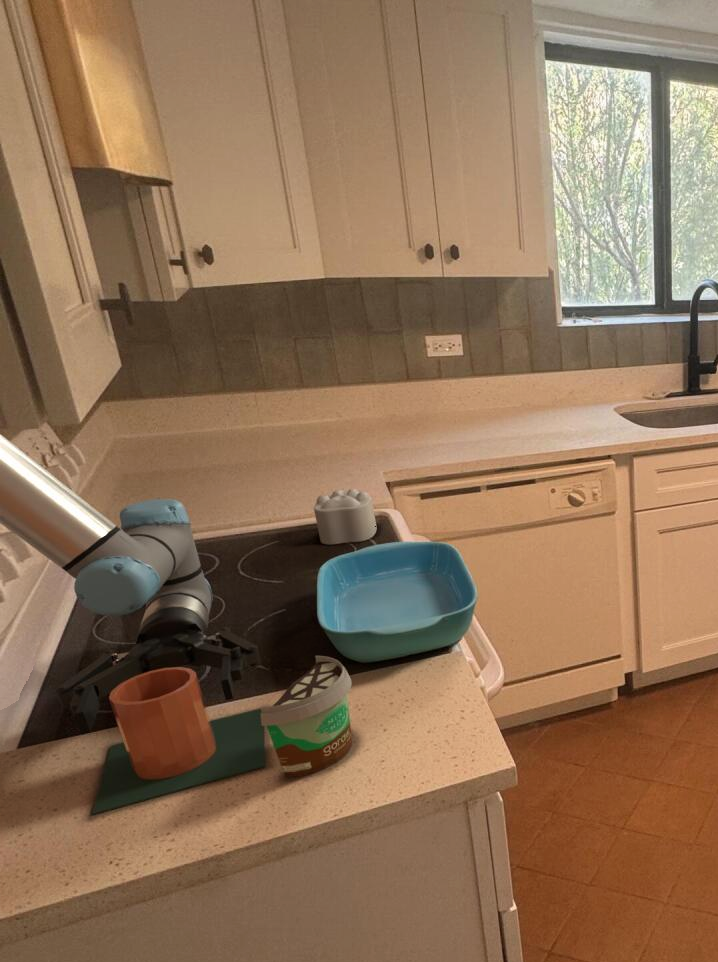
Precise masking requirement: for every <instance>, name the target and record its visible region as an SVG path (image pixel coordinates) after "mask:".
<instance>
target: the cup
mask: <svg viewBox="0 0 718 962" xmlns="http://www.w3.org/2000/svg"><path fill="white" fill-rule="evenodd" d="M108 701H109V703H110V707H111V710H112V713H113V715H114V718H115V721H116V724H117V726H118V727H117V728H118V730H119V732H120V735H121V738H122V741H123V743H124V744H125V747H126V750H127V753H128V756H129V759H130V762H131V765H132V767H133V769H134V771H135V774H136V775H137V776H138V777H140V778H143V779H151V780H154V779H164V778H169V777H173V776H177V775H180V774H183V773H185V772H188V771H190V770H192V769H194V768H196V767H198V766H200V765H201V764H203V763H204V762H206V761H207V760H208V759H209V758H210V757H211V756H212V755H213V754H214V752H215V750H216V742H215V737H214V733H213V730H212V726H211V723H210V721H211V720H210V716H209V713H208V709H207V706H206V703H205V700H204V695H203V692H202V689H201V685H200V682H199V678H198V675H197V672H196V671H194V670H193V669H192V668H189V667H183V666H178V667H168V668H162V669H158V670H153V671H149V672H146V673H143V674H140V675H137V676H135V677H132V678H130V679H128V680H126V681H125V682H123V683H121V684H119V685H118V686H117V687H116V688H115V689H113V690H112V691H111V693H110V694H109V696H108Z"/></svg>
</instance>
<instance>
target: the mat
mask: <svg viewBox="0 0 718 962" xmlns="http://www.w3.org/2000/svg"><path fill="white" fill-rule="evenodd" d="M261 713H262V712H261V708H257V709H253V710H249V711H245V712H241V713H237V714H233V715H230V716H224V717H222V718H217V719H213V720H210V723H211V726H212V730H213V733H214V737H215V742H216V750H215V752H214V754H213V755H212V756H211V757H210V758H209V759H208V760H207V761H206V762H204V763H203V764H201V765H200V766H198V767H196V768H194V769H192V770H190V771H188V772H185V773H183V774H180V775H177V776H173V777H169V778H164V779H154V780H151V779H143V778H140V777H138V776H137V775H136V774H135V771H134V769H133V767H132V765H131V762H130V759H129V756H128V753H127V750H126V747H125V744H124V742H121V743H117V744H112V745H111V746H110V748H109V752H108V755H107V758H106V762H105V766H104V768H103V769H104V770H103V773H102V776H101V780H100V784H99V788H98V790H97V791H98V792H97V795H96V798H95V802H94V805H93V809H92V813H91V815H92V816H95V815H98V814H102V813H105V812H108V811H112V810H116V809H119V808H123V807H126V806H127V807H128V806H129V805H133V804H137V803H141V802H144V801H148V800H151V799H155V798H159V797H162V796H166V795H169V794H173V793H176V792H179V791H184V790H188V789H192V788H194V787H197V786H202V785H205V784H209V783H212V782H216V781H220V780H223V779H226V778H230V777H234V776H237V775H240V774H243V773H248V772H251V771H256V770H259V769H262V768H266V752H265V751H266V750H265V746H266V745H265V726H262V724H261Z"/></svg>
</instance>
